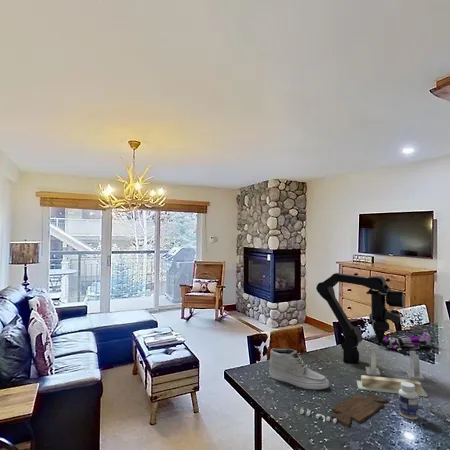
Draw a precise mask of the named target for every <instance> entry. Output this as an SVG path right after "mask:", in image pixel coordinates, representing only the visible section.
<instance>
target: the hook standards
mask: <svg viewBox="0 0 450 450" xmlns="http://www.w3.org/2000/svg"><path fill="white" fill-rule="evenodd" d="M416 353H417V351H416V350H409V365H410V366H409V367H410V369H409V370H405V371H406V372H405V374H406V375H407V376H408V378H409V380H415V381H420V380H421V382H425V381H426V380H425V377H424V376H423V374H422V373H421V371H420V355H419V354H416ZM365 371H366V376H375V377H382V376H381V374H382V373H381V372H380V369H379V367H377V352H376V351H375V348H374V347H368V366H365Z"/></svg>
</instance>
